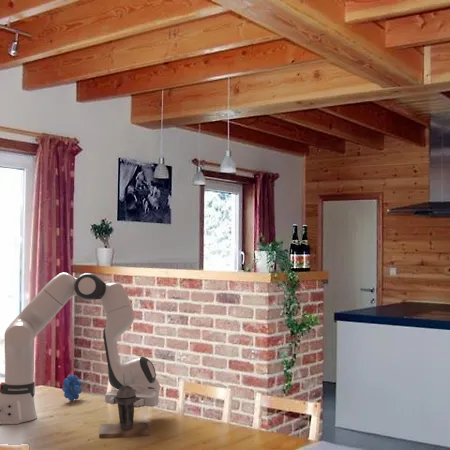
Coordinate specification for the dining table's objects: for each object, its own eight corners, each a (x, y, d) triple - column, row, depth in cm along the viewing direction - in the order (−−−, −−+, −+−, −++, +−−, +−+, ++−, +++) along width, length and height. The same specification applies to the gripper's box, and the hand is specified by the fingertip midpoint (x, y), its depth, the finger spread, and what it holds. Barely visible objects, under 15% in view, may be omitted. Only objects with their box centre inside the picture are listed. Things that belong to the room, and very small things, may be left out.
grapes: (69, 404, 292) (70, 377, 292) (58, 403, 295) (58, 375, 296) (88, 399, 302) (88, 373, 302) (76, 398, 305) (77, 371, 306)
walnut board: (99, 437, 242) (99, 434, 242) (99, 427, 255) (99, 424, 255) (149, 435, 245) (149, 432, 245) (147, 425, 258) (147, 422, 259)
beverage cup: (140, 426, 252) (138, 372, 253) (129, 431, 245) (128, 376, 246) (123, 424, 255) (122, 371, 256) (113, 429, 248) (111, 375, 249)
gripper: (113, 385, 266) (97, 392, 252) (162, 388, 260) (148, 396, 247) (113, 401, 266) (97, 409, 252) (161, 405, 260) (148, 413, 247)
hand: (123, 403), depth 250 cm, fingers open, 8 cm apart
